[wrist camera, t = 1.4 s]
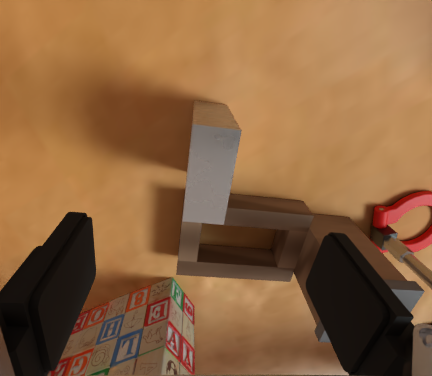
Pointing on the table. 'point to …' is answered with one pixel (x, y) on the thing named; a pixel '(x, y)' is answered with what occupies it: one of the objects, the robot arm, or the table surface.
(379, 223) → the tow hook
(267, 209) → the post socket
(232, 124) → the tall grey box
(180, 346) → the stack of blocks
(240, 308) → the table surface
